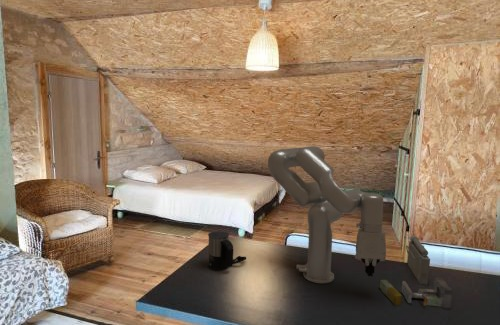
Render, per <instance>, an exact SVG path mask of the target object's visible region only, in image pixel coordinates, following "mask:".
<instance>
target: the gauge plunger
mask: <svg viewBox="0 0 500 325" xmlns="http://www.w3.org/2000/svg"><path fill="white" fill-rule="evenodd" d="M421 289H422V288H418V290H417V292H413V291H412V289H411V287H409V285H408V283H407V282H406V280H402V283H401V293H402V296H404V298H405V300H406V302H407V304H412V299H423V306H424V307H425V306H427V305H426V300H427V297H429V296H433V297H437V295H434V294H424V293H423V292H422V290H421ZM426 296H427V297H426Z"/></svg>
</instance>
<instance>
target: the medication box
mask: <svg viewBox="0 0 500 325" xmlns="http://www.w3.org/2000/svg"><path fill="white" fill-rule="evenodd" d="M379 290H380V291H381V292H382V293H383V294H384V295H385V296H386V297H387V298H388V299H389V301H390V302H392V304H393V305H394V306H402V302H403V301H402V299H403V294H401V293H400V292H399V291H398V290H397V289H396V288H395V287H394V286H393V285H392V284H391V283H390V282H389V281H388V280H387V278H386V279H379Z"/></svg>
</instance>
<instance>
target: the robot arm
mask: <svg viewBox="0 0 500 325" xmlns="http://www.w3.org/2000/svg"><path fill="white" fill-rule="evenodd" d="M325 158H326V157H325V153H324V151H323V150H322V148H321V147H318V146H314V145H313V146H304V147H296V148H295V147H293V148H285V149H284V148H282V149H278V150H274V151H273V152H271V153H270V155H269V156H268V159H267V168H268V172H269V174H270V175H271V178H273V179H274V181H275V182H276V183H278V184H279V186H281V187H282V188H283V189H284V191H285V192H286V193H287V194H288V195H289V196H290V197H291V198H292V200H294V202H295V203H296V204H297V205H298V206H300V207H303V208H306V207H309V206H310V208H309V209H308V211H307V216H306V217H307V224H308V242H307V243H308V247H307V250H308V251H307V262H306V263H305V264H296V270H298V271H299V272H303V277H304V279H306V280H308V281H309V282H312V283H315V284H328V283H331V282H333V281H334V279H335V274H334V273H333V272H332V271H331V269H332V268H331V267H332V249H333V248H332V247H333V231H332V227H331V226H332V224H333V223H334V222H336V221H339V220H340V219H341V218H342V217H343V214H346V215H347V214H350V213H352V212H355V211H359V210H360V221H359V223H356V224H355V225H356V228H358V231H357V236H356V243H355V256H354V258H355V259H356V260H359V261H362V263H363V264H365V265H364V269H365V270H364V272H365V274H366V275H367V277H373V275H374V274H375V267H376V265H377V264H378V263H380V262H385V261H386V258H387V243H386V233H385V231H384V230H383V219H384V218H383V214H384V197H383V196H382V195H381V194H380V193H374V192H365V191H361V190H358V189H351V190H348V191H344V190H343V189H342V188H341V187H340V186H339V185H338V184H337V183H336V182H335V181H334V178H333V175H334V173H335V172H334V168H333V167H332V165H330V164H329V163H328V162H327V161H325ZM298 167H300V168H301V169H302V170H303V171H304V172H305V173H306V174H308V175H309V176H310V177H311V178H312V179H313V180H314V181H311V182H306V181H305V180H303V179H302V178H301V177H300V176H299V174H298V173H296V172H295V171H293V170H291V169H290V168H298ZM369 261H370V262H369Z"/></svg>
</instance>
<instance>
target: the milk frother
mask: <svg viewBox="0 0 500 325" xmlns="http://www.w3.org/2000/svg"><path fill="white" fill-rule="evenodd" d="M207 236H208V265H207V266H208V269H209V270H211V271H224V270H225V271H226V270H227V269H228V268H232V267H233V265H235V264H236V265H237V264H239V263H243V262H244V261H246V260H247V256H241V255H238V256H236V257H235V258H234V245H233V243H232V242H231V241H230V240H229V236H230V233H229V232H227V231H222V230H216V231H215V230H214V231H211V232H209V233H208V234H207Z"/></svg>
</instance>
